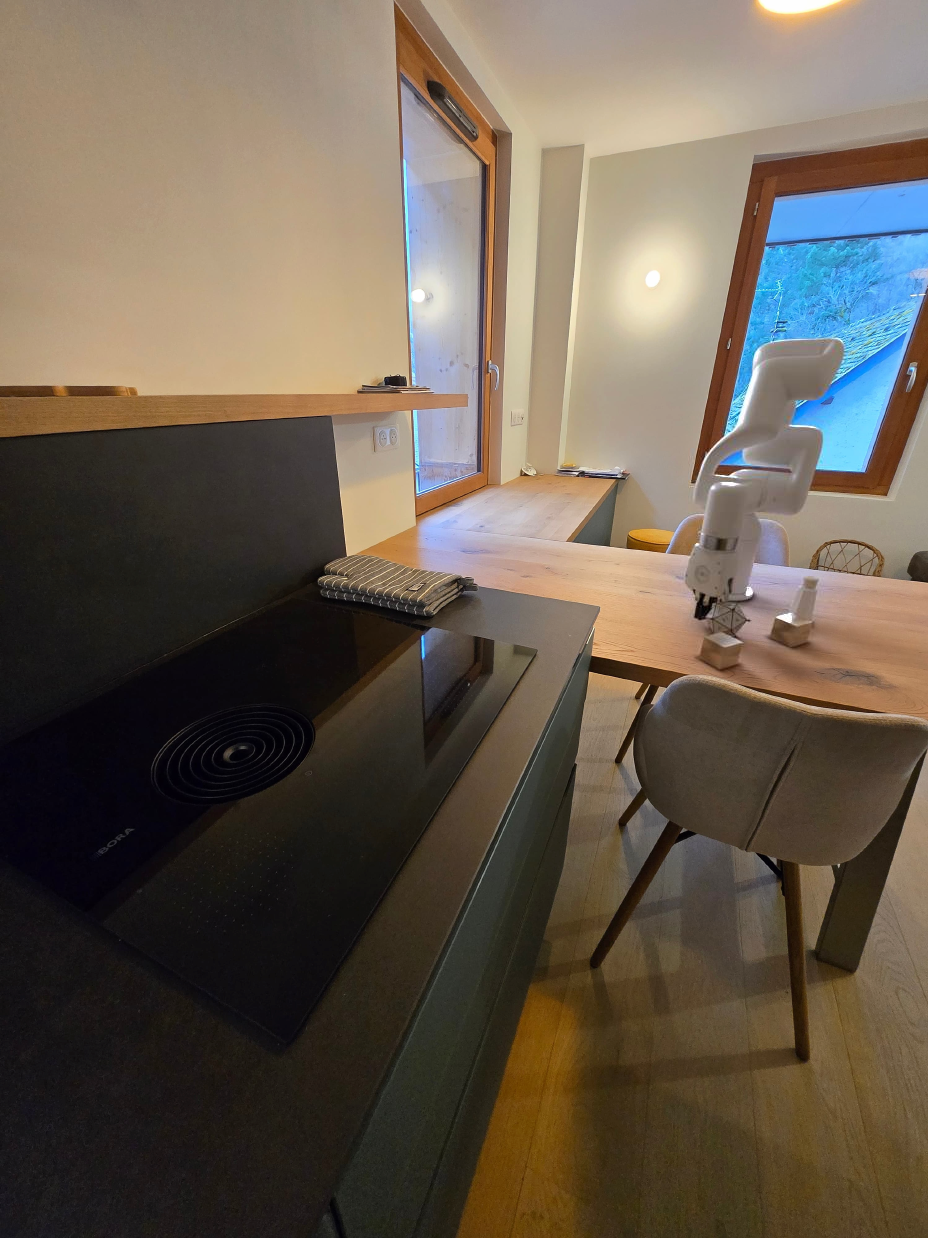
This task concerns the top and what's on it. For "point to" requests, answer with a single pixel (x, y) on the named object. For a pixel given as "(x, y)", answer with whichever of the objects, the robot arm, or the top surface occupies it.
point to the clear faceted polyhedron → (726, 618)
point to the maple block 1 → (720, 650)
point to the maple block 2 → (791, 629)
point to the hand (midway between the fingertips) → (701, 618)
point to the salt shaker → (805, 598)
